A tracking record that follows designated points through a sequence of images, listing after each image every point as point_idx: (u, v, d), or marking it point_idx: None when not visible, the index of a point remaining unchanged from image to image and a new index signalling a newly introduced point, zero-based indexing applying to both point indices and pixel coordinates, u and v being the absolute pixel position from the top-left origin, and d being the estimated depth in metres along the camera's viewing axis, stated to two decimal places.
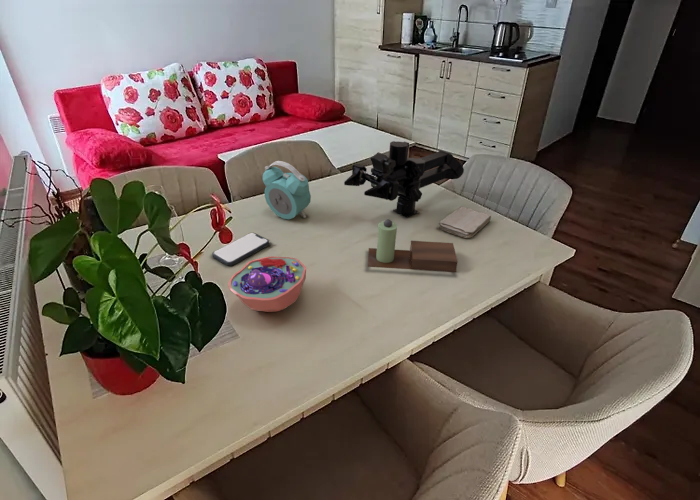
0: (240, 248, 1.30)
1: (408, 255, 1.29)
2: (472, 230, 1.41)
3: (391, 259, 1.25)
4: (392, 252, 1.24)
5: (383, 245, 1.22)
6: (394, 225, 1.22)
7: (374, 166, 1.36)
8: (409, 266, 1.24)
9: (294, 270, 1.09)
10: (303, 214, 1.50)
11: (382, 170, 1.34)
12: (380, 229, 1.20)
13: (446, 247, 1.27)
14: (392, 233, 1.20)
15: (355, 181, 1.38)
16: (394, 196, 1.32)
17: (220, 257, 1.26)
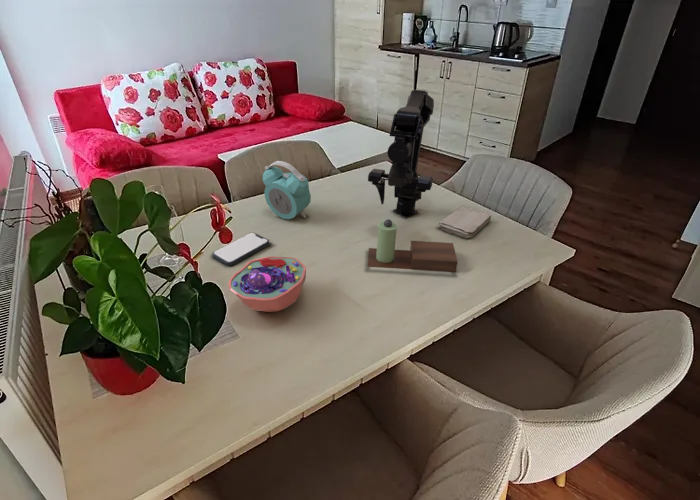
0: (240, 248, 1.30)
1: (408, 255, 1.29)
2: (472, 230, 1.41)
3: (391, 259, 1.25)
4: (392, 252, 1.24)
5: (383, 245, 1.22)
6: (394, 225, 1.22)
7: None
8: (409, 266, 1.24)
9: (294, 270, 1.09)
10: (303, 214, 1.50)
11: None
12: (380, 229, 1.20)
13: (446, 247, 1.27)
14: (392, 233, 1.20)
15: (383, 187, 1.32)
16: None
17: (220, 257, 1.26)
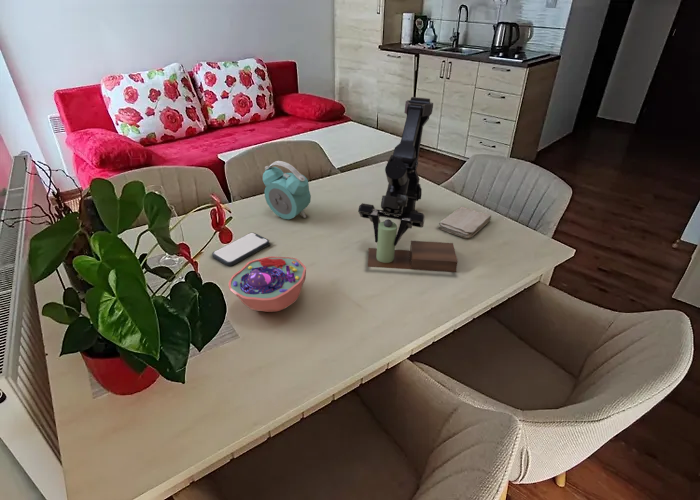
0: (240, 248, 1.30)
1: (408, 255, 1.29)
2: (472, 230, 1.41)
3: (391, 259, 1.25)
4: (392, 252, 1.24)
5: (383, 245, 1.22)
6: (394, 225, 1.22)
7: None
8: (409, 266, 1.24)
9: (294, 270, 1.09)
10: (303, 214, 1.50)
11: (397, 207, 1.21)
12: (380, 229, 1.20)
13: (446, 247, 1.27)
14: (392, 233, 1.20)
15: None
16: (423, 223, 1.24)
17: (220, 257, 1.26)
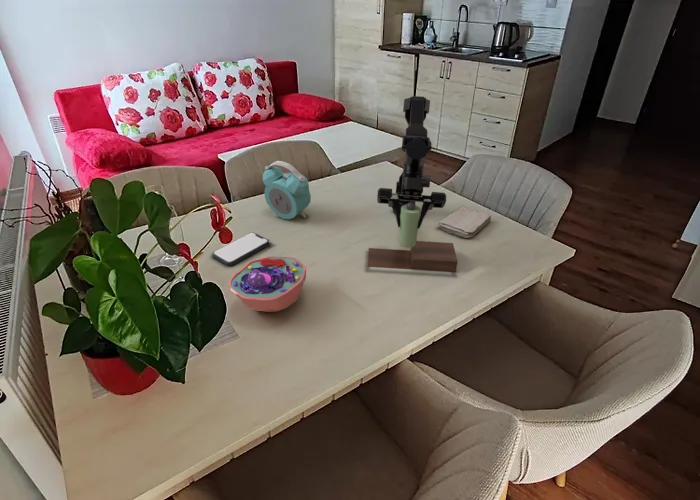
0: (240, 248, 1.30)
1: (408, 255, 1.29)
2: (472, 230, 1.41)
3: (414, 243, 1.21)
4: (416, 236, 1.20)
5: (407, 230, 1.18)
6: (417, 207, 1.18)
7: None
8: (409, 266, 1.24)
9: (294, 270, 1.09)
10: (303, 214, 1.50)
11: None
12: (404, 213, 1.16)
13: (446, 247, 1.27)
14: (416, 216, 1.16)
15: None
16: None
17: (220, 257, 1.26)
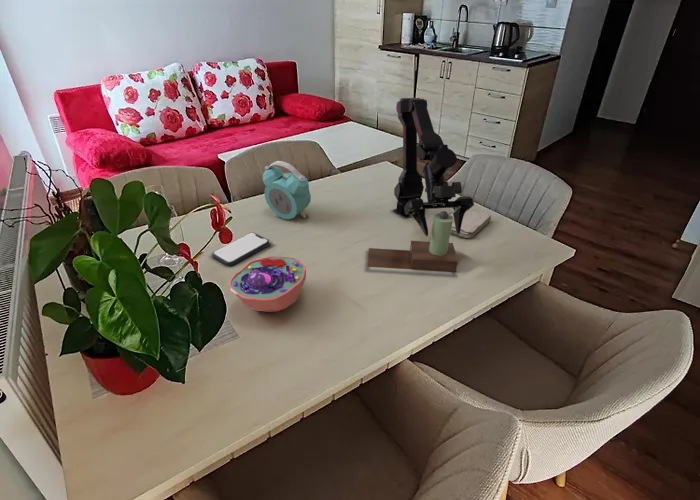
0: (240, 248, 1.30)
1: (408, 255, 1.29)
2: (472, 230, 1.41)
3: None
4: (448, 243, 1.23)
5: (442, 238, 1.20)
6: (448, 216, 1.20)
7: None
8: (409, 266, 1.24)
9: (294, 270, 1.09)
10: (303, 214, 1.50)
11: None
12: (440, 223, 1.17)
13: None
14: (451, 224, 1.18)
15: None
16: None
17: (220, 257, 1.26)
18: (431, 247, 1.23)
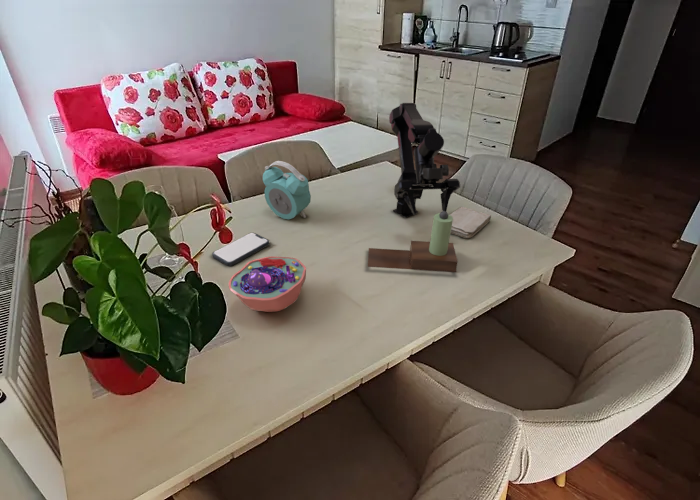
0: (240, 248, 1.30)
1: (408, 255, 1.29)
2: (472, 230, 1.41)
3: None
4: (448, 243, 1.23)
5: (442, 238, 1.20)
6: (448, 216, 1.20)
7: None
8: (409, 266, 1.24)
9: (294, 270, 1.09)
10: (303, 214, 1.50)
11: None
12: (440, 223, 1.17)
13: None
14: (451, 224, 1.18)
15: None
16: None
17: (220, 257, 1.26)
18: (431, 247, 1.23)
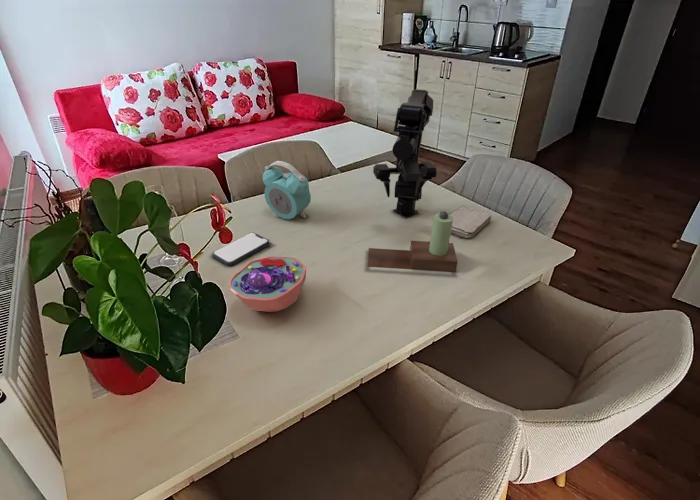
0: (240, 248, 1.30)
1: (408, 255, 1.29)
2: (472, 230, 1.41)
3: None
4: (448, 243, 1.23)
5: (442, 238, 1.20)
6: (448, 216, 1.20)
7: None
8: (409, 266, 1.24)
9: (294, 270, 1.09)
10: (303, 214, 1.50)
11: None
12: (440, 223, 1.17)
13: None
14: (451, 224, 1.18)
15: None
16: None
17: (220, 257, 1.26)
18: (431, 247, 1.23)
